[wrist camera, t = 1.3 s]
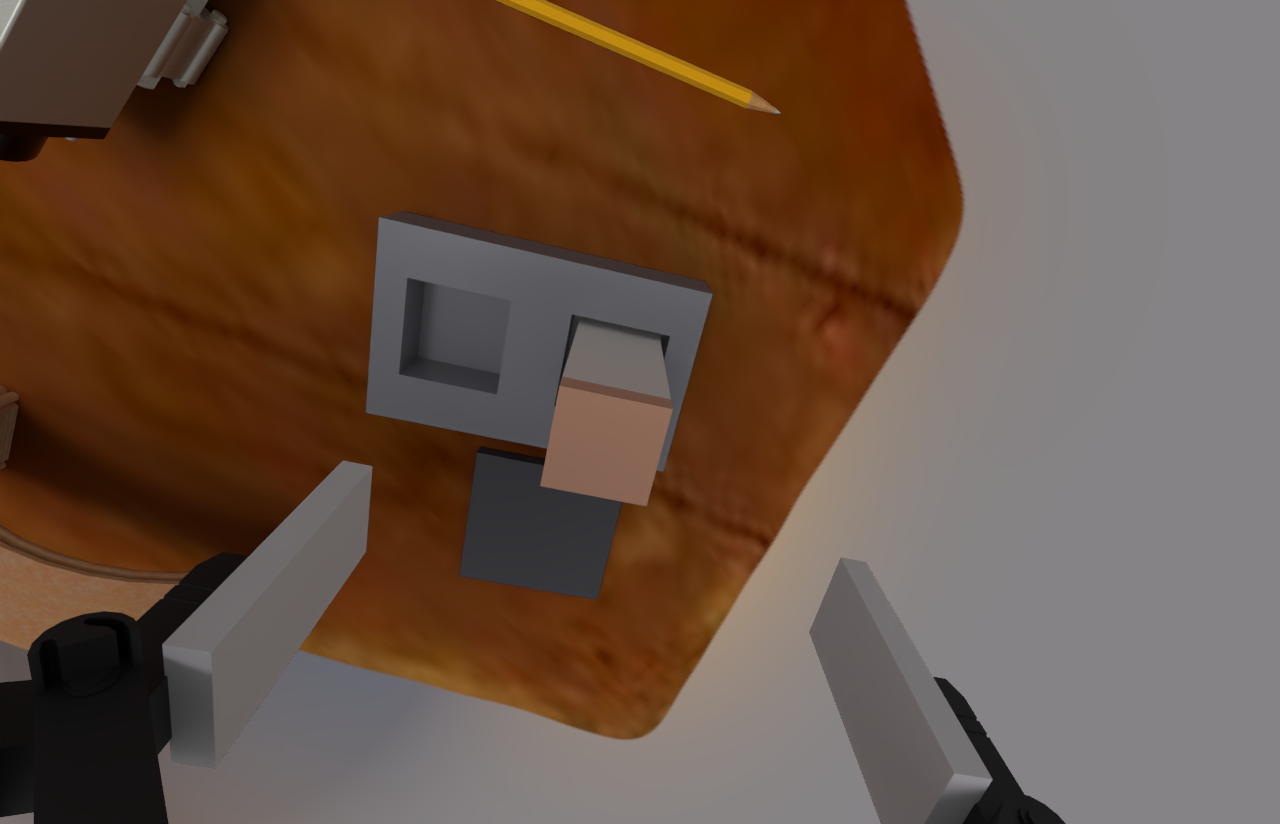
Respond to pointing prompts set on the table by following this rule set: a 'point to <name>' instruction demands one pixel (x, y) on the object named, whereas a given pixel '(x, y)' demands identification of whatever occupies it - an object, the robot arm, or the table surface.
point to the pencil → (641, 53)
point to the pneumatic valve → (92, 63)
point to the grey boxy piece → (506, 325)
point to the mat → (534, 529)
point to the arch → (61, 575)
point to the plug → (609, 414)
